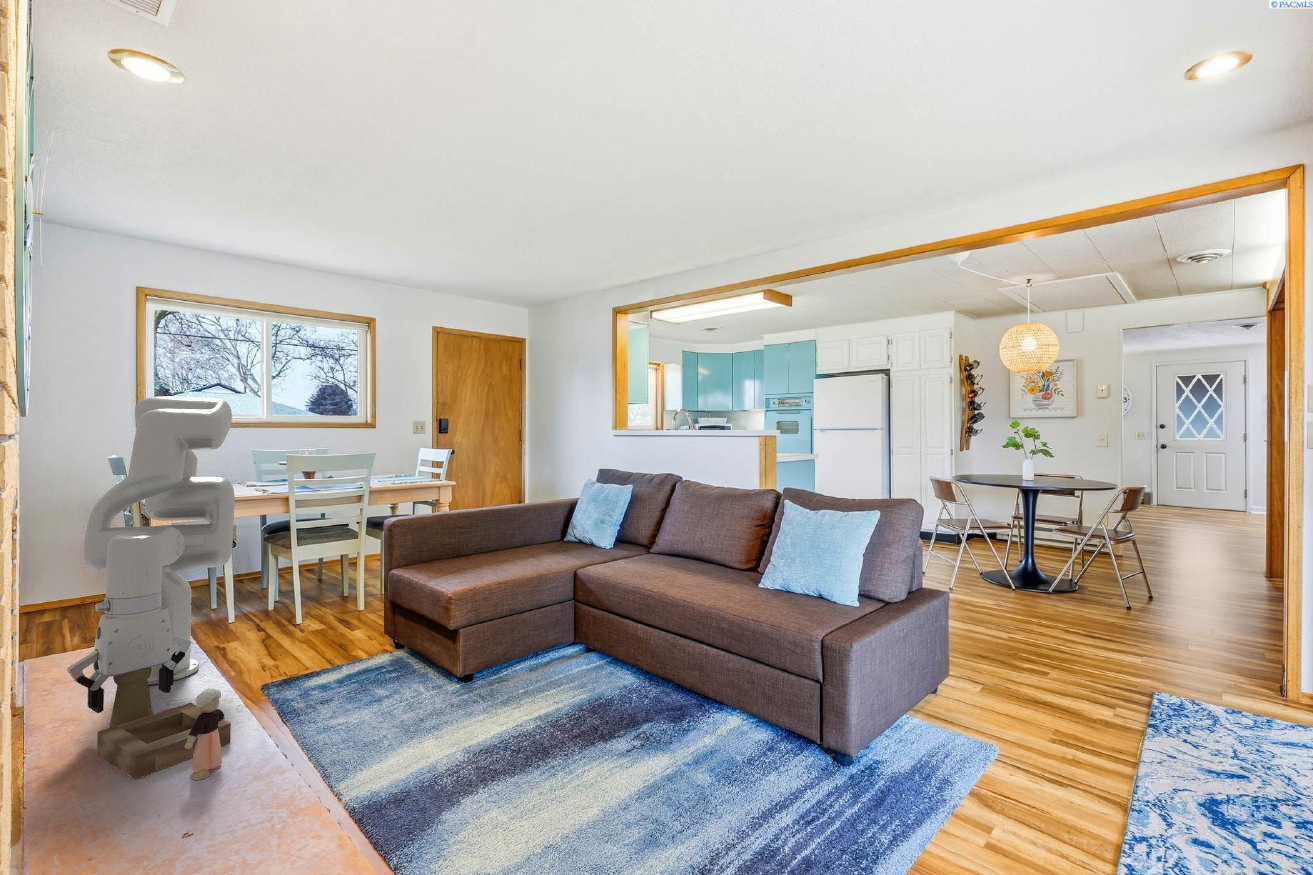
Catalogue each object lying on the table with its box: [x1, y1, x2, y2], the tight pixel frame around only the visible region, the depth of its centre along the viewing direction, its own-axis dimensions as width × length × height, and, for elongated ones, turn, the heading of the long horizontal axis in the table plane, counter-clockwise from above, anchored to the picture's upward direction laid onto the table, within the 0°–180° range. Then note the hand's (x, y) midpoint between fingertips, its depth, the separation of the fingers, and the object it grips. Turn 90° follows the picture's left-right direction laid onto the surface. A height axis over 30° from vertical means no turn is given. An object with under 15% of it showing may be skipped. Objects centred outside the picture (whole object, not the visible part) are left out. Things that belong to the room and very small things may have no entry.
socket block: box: [96, 702, 232, 780], centre depth 102 cm, size 14×13×4 cm
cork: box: [109, 667, 154, 728], centre depth 110 cm, size 6×6×11 cm
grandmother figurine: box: [185, 688, 227, 781], centre depth 96 cm, size 8×4×13 cm, turn 9°
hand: (132, 700), depth 110 cm, fingers open, 9 cm apart
